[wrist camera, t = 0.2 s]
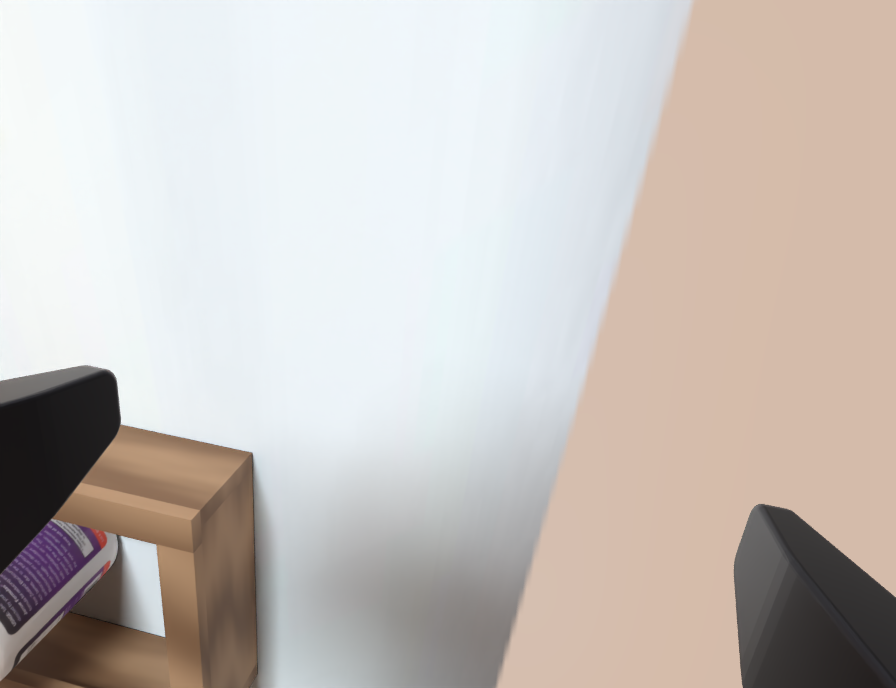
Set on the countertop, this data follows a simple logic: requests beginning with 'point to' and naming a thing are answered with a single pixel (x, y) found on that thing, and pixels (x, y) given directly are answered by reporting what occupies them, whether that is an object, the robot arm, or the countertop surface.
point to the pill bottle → (48, 584)
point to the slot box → (164, 570)
